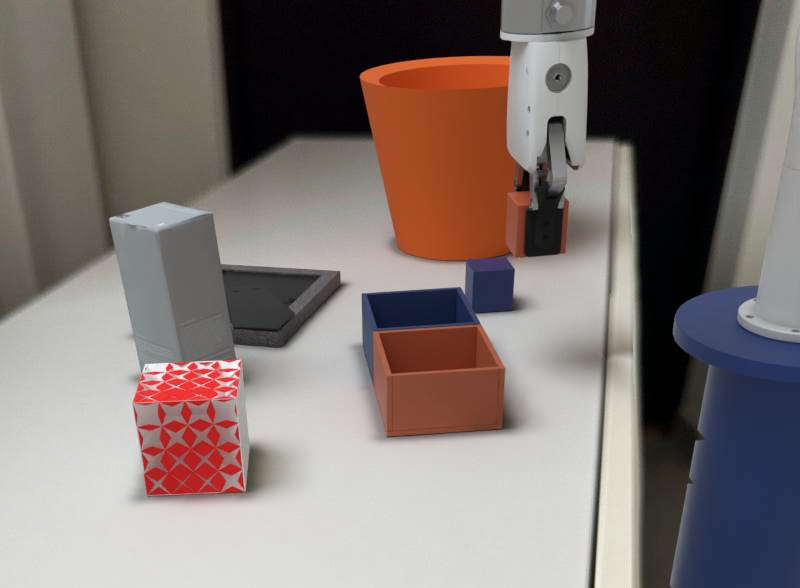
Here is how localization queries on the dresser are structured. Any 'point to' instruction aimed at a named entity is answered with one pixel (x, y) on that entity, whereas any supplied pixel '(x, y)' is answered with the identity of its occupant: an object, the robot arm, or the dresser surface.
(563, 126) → the robot arm
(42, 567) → the dresser surface
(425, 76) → the flowerpot
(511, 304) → the navy block
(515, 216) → the rust block
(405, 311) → the navy bin
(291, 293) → the picture frame
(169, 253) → the cosmetic box
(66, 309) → the dresser surface
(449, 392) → the rust bin
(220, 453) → the red and white cube
